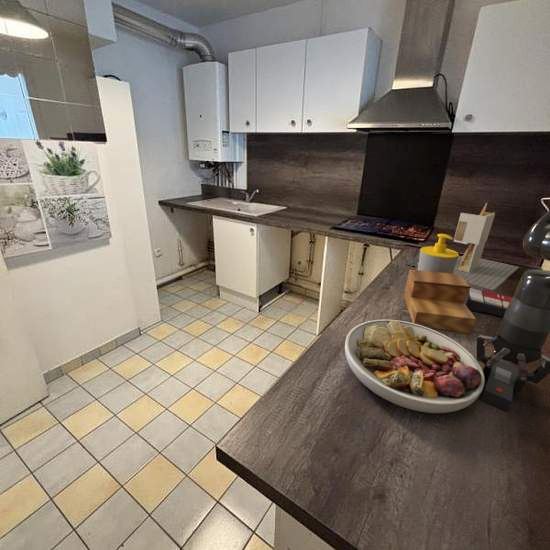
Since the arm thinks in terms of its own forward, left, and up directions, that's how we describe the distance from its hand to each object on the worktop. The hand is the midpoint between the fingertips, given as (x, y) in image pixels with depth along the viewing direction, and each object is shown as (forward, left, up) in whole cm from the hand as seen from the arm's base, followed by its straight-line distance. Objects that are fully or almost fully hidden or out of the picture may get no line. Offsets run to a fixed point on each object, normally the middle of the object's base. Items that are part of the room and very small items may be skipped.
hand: (499, 383), depth 66 cm
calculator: (-14, -41, -1) cm, 44 cm away
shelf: (+6, -32, -1) cm, 33 cm away
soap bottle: (+2, -55, -1) cm, 56 cm away
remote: (0, 0, -1) cm, 1 cm away
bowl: (+20, 0, -1) cm, 20 cm away
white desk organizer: (-18, -84, -1) cm, 86 cm away
